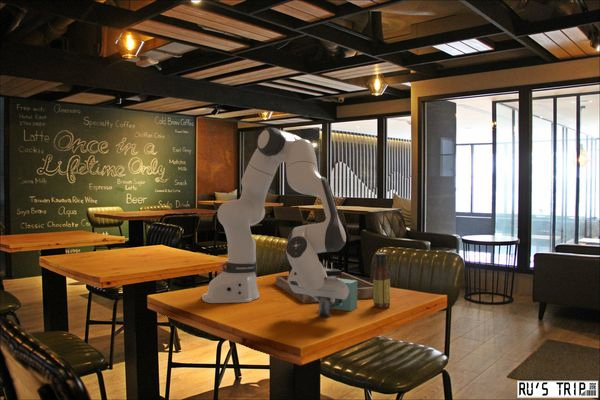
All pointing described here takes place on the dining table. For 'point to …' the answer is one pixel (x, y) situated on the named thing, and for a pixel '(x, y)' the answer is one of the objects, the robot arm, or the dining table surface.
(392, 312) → the dining table surface
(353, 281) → the eye block
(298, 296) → the tray frame
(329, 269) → the black-topped pedestal
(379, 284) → the sauce bottle
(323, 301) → the dark piece
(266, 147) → the robot arm
